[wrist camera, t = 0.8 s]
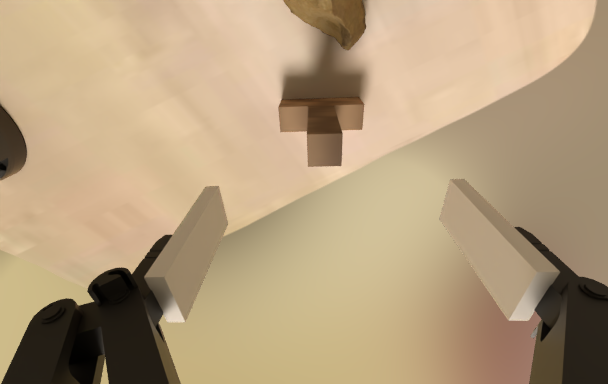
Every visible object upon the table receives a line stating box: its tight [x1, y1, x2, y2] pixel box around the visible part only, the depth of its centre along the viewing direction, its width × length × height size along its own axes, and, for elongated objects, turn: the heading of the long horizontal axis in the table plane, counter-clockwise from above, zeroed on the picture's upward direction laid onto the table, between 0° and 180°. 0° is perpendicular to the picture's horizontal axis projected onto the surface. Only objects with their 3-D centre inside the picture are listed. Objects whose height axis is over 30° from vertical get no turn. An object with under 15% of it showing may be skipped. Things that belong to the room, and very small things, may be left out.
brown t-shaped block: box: [278, 97, 364, 167], centre depth 29 cm, size 10×3×14 cm, turn 92°
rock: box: [284, 0, 366, 50], centre depth 27 cm, size 11×9×10 cm
